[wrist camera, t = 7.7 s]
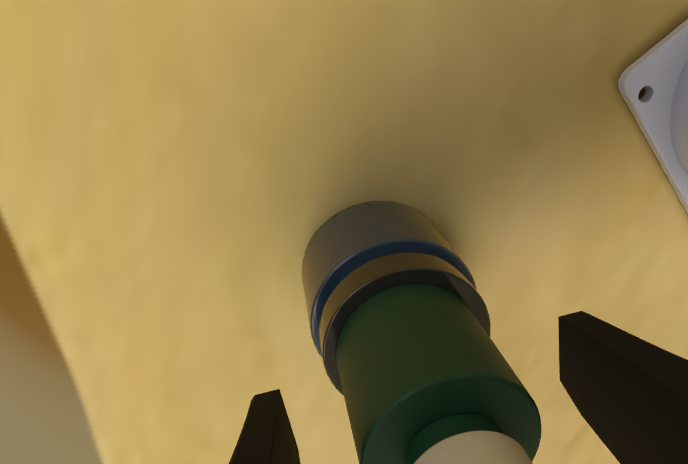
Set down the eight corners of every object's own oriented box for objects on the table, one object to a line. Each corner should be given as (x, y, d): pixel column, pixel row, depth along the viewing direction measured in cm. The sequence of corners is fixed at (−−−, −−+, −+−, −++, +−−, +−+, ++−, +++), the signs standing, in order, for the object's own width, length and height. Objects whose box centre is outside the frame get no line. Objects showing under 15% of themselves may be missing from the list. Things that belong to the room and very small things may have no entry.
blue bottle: (471, 269, 19) (530, 342, 15) (364, 354, 20) (392, 445, 16) (386, 169, 17) (428, 222, 13) (270, 268, 18) (274, 347, 14)
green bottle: (502, 343, 15) (620, 508, 10) (394, 424, 16) (457, 616, 11) (421, 253, 13) (516, 397, 9) (305, 347, 14) (331, 531, 9)
